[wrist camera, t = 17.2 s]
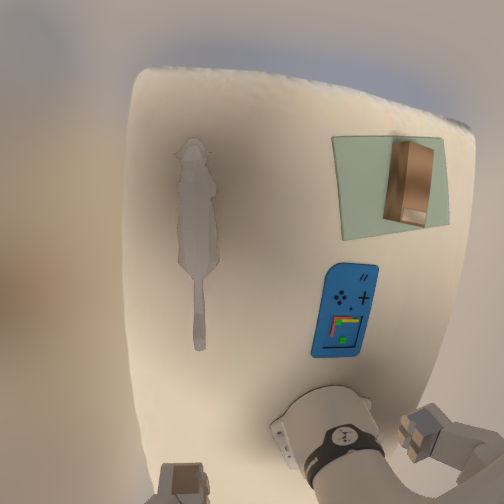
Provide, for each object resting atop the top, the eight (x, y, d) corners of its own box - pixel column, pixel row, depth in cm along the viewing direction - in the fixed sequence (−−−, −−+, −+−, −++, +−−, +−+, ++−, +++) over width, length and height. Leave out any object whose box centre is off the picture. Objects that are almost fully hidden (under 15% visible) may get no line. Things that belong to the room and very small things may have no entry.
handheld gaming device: (380, 266, 42) (359, 357, 44) (377, 265, 43) (356, 354, 46) (329, 262, 40) (311, 359, 43) (326, 261, 42) (309, 355, 44)
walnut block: (392, 143, 38) (410, 140, 34) (416, 151, 39) (434, 149, 34) (382, 218, 40) (400, 222, 36) (406, 223, 41) (425, 228, 36)
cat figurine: (217, 149, 37) (216, 127, 23) (221, 302, 41) (223, 356, 27) (181, 150, 36) (161, 130, 22) (188, 303, 40) (176, 357, 27)
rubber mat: (447, 224, 42) (449, 224, 42) (342, 240, 41) (344, 240, 40) (440, 139, 39) (443, 138, 39) (331, 138, 38) (333, 137, 37)
